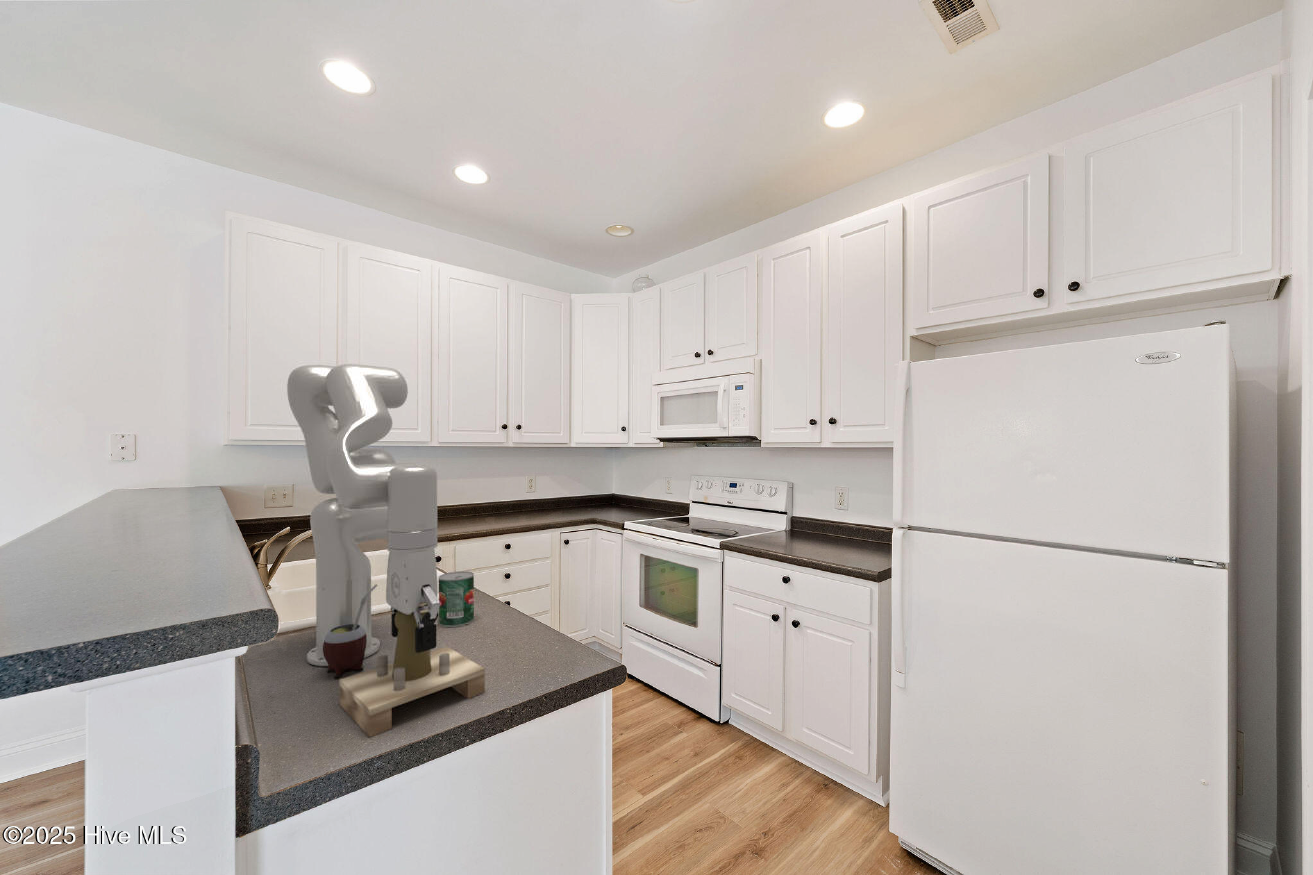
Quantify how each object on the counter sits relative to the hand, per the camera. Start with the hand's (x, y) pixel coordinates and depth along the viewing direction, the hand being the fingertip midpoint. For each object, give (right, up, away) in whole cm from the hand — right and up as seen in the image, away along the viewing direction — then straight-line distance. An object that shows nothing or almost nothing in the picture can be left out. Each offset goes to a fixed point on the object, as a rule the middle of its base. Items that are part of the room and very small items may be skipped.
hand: (413, 642), depth 86 cm
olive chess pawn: (0, -6, 0) cm, 6 cm away
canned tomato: (-7, -10, +37) cm, 38 cm away
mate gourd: (-17, -10, +11) cm, 22 cm away
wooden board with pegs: (0, -9, 0) cm, 9 cm away
